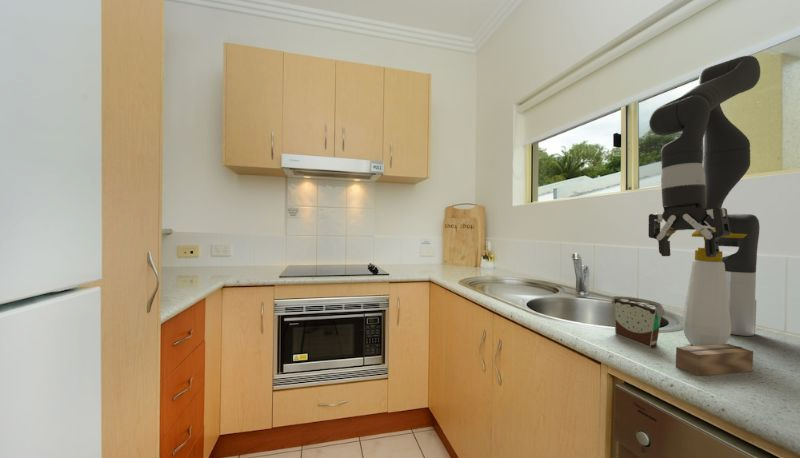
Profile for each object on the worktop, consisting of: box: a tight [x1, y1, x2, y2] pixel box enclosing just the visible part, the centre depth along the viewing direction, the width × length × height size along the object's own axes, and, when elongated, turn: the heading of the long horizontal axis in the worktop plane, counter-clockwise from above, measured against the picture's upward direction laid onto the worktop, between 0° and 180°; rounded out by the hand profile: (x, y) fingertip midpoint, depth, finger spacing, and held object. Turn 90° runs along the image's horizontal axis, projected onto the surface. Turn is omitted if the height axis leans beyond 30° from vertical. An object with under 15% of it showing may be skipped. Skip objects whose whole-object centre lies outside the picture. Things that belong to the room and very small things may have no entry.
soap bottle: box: [681, 227, 747, 346], centre depth 74 cm, size 13×10×29 cm
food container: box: [611, 295, 666, 349], centre depth 79 cm, size 12×6×10 cm, turn 12°
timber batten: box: [675, 343, 754, 377], centre depth 63 cm, size 14×4×4 cm, turn 102°
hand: (687, 256), depth 71 cm, fingers open, 8 cm apart
